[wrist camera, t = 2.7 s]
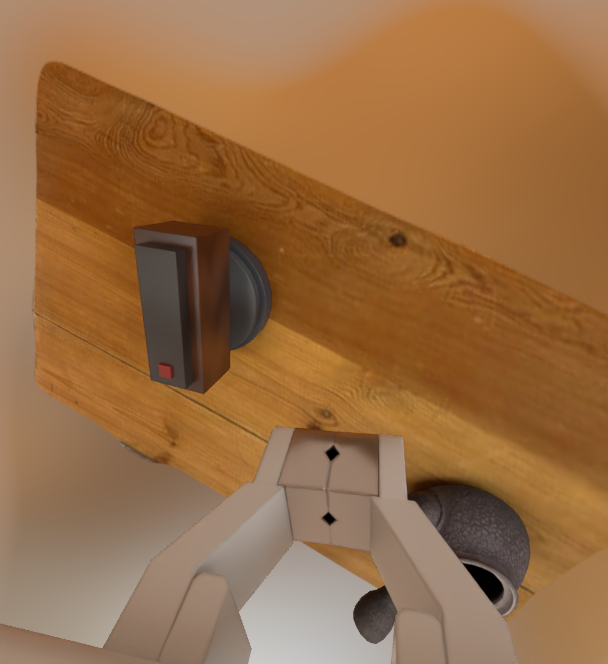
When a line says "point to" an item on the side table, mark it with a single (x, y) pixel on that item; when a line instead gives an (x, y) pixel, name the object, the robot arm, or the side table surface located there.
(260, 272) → the turntable base
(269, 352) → the side table surface
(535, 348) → the side table surface
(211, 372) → the remote caddy
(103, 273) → the side table surface
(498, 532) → the teapot
